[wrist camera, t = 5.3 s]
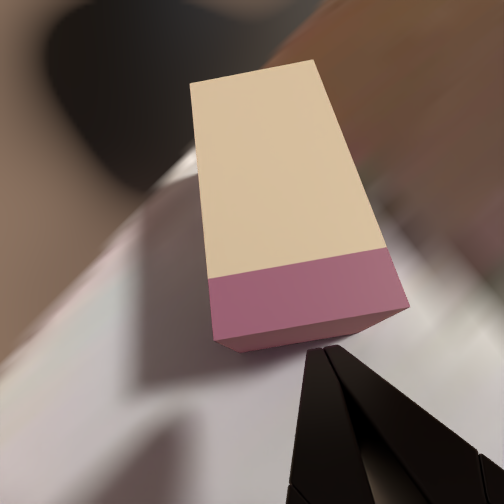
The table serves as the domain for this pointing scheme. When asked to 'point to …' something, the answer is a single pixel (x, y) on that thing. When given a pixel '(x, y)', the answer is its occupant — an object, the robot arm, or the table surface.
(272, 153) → the marked block
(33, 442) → the table surface
